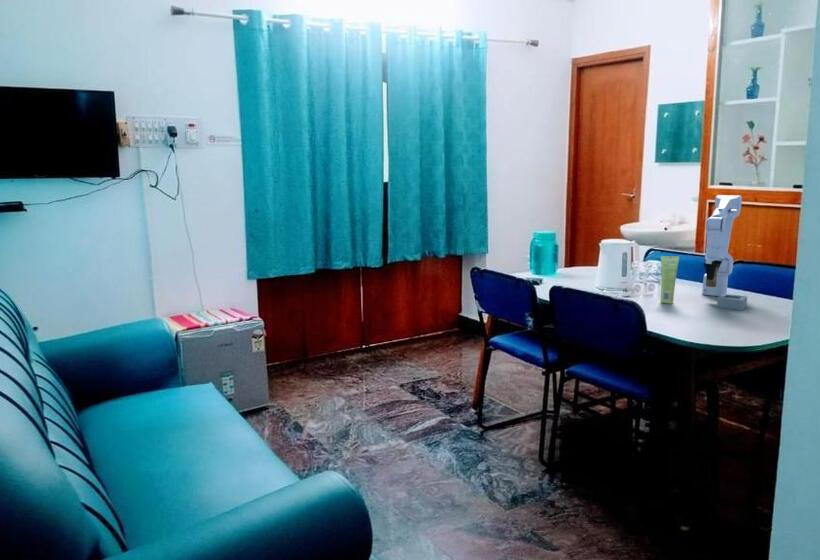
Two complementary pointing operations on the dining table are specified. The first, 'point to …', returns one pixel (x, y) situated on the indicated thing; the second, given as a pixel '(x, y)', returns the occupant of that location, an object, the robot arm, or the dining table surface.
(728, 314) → the dining table surface
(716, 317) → the dining table surface
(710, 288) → the robot arm
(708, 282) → the peg
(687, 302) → the dining table surface
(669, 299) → the tube
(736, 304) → the socket block
